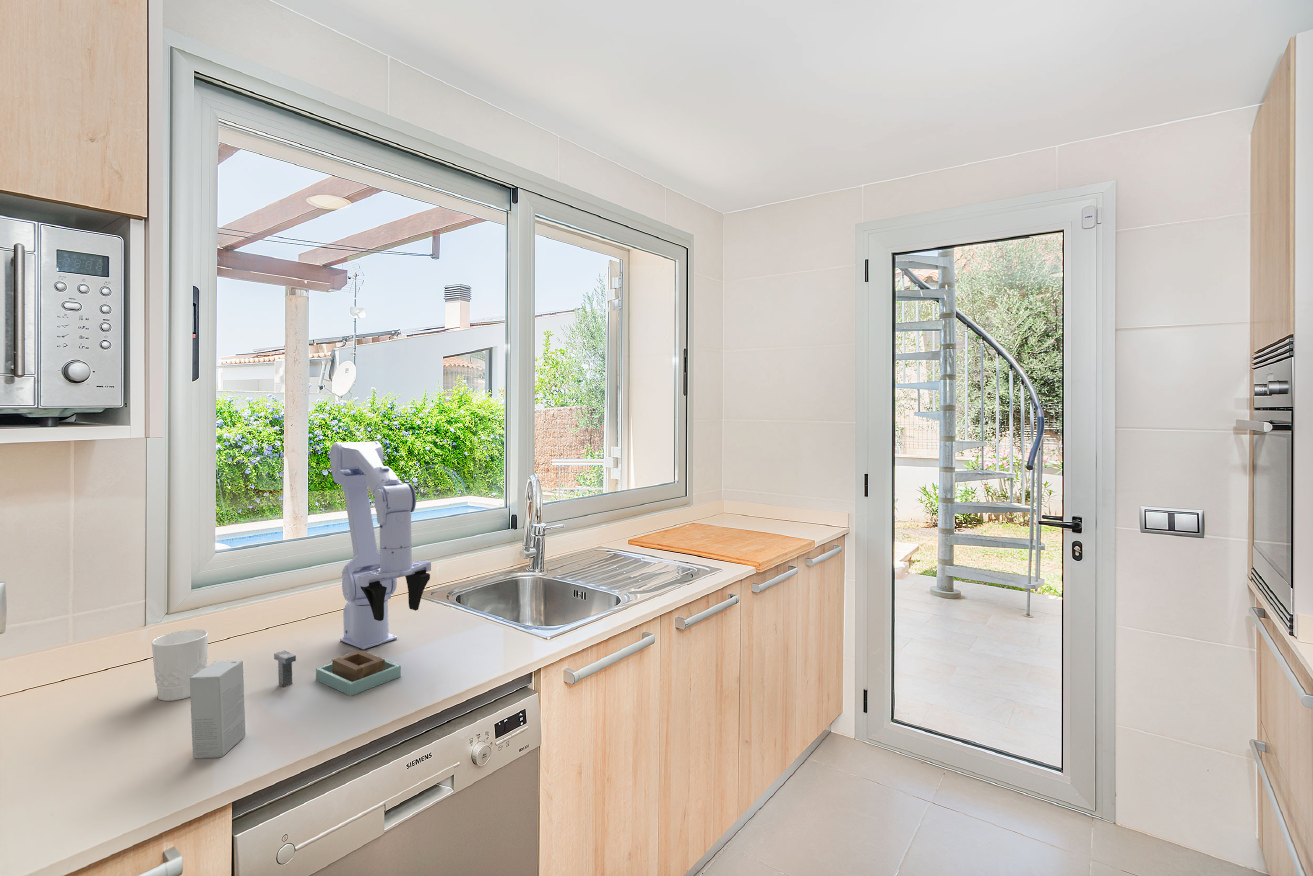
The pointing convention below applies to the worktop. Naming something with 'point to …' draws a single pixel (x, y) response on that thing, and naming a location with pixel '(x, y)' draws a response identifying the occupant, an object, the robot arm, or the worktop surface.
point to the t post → (285, 667)
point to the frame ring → (357, 665)
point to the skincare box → (217, 708)
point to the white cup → (178, 661)
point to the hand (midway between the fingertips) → (396, 614)
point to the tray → (352, 688)
